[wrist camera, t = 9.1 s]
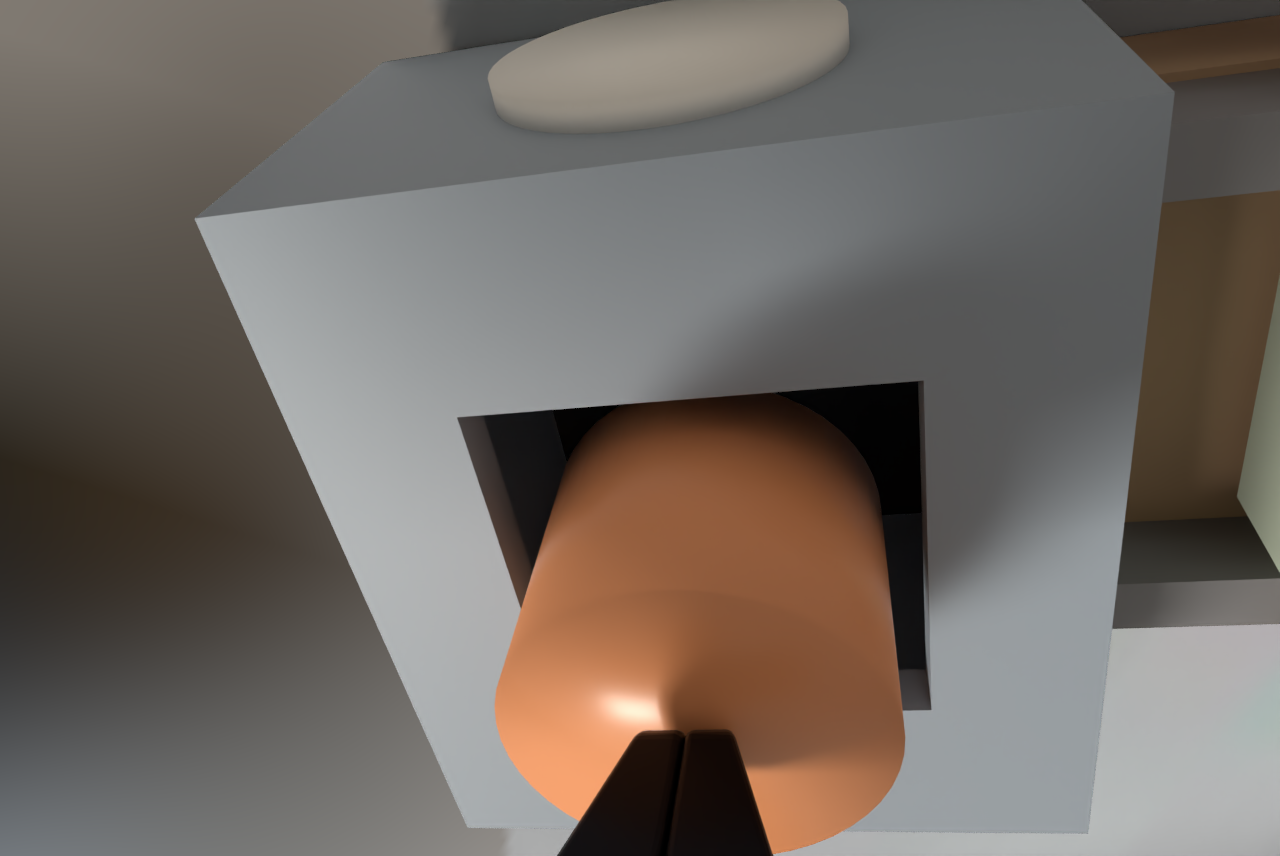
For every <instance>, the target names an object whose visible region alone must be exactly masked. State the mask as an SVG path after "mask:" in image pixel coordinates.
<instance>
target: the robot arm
mask: <svg viewBox="0 0 1280 856" xmlns="http://www.w3.org/2000/svg"><path fill="white" fill-rule="evenodd" d="M557 856H773V853H772V850H771V847H770V844H769V841H768V838H767V835H766V831H765V828H764V825H763V822H762V819H761V816H760V813H759V809H758V806H757V803H756V800H755V797H754V794H753V791H752V787H751V784H750V781H749V778H748V775H747V772H746V769H745V766H744V762H743V759H742V756H741V753H740V750H739V747H738V744H737V741H736V738H735V736H734V734H733V733H732V731H730V730H727V729H711V730H692V731H690V732H689V733H688V734H687V735H686V736H685V734H684V733H683V732H682V731H679V730H645V731H641V732H640V733H638V734H637V735H636V736H635V737H634V738H633V739H632V741H631V742H630V744H629V745H628V747H627V748H626V750H625V751H624V753H623V755H622V756H621V758H620V759H619V761H618V762H617V764H616V765H615V767H614V769H613V770H612V772H611V773H610V775H609V776H608V778H607V779H606V781H605V782H604V784H603V786H602V787H601V789H600V790H599V792H598V793H597V795H596V796H595V798H594V799H593V801H592V803H591V804H590V806H589V807H588V809H587V810H586V812H585V813H584V815H583V816H582V818H581V820H580V821H579V823H578V824H577V826H576V827H575V829H574V830H573V832H572V833H571V835H570V837H569V838H568V840H567V841H566V843H565V844H564V846H563V847H562V849H561V850H560V852H559V854H558V855H557Z"/></svg>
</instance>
